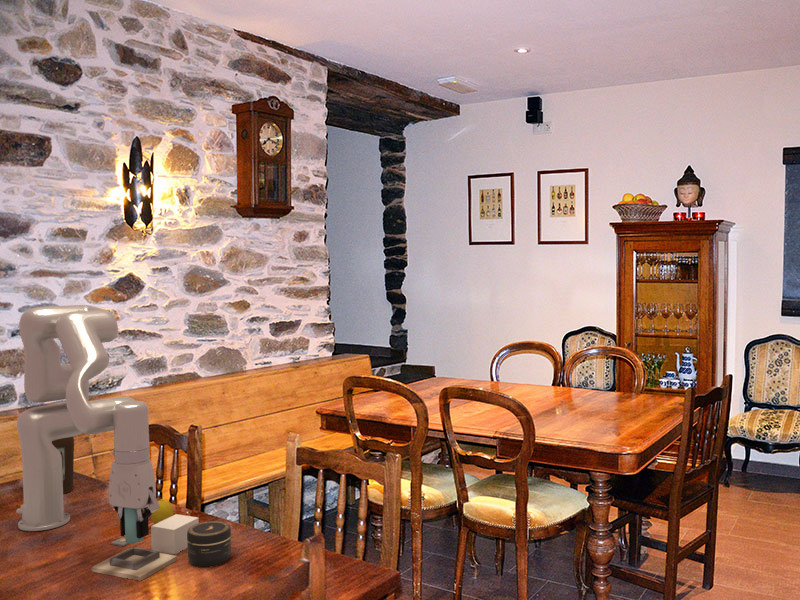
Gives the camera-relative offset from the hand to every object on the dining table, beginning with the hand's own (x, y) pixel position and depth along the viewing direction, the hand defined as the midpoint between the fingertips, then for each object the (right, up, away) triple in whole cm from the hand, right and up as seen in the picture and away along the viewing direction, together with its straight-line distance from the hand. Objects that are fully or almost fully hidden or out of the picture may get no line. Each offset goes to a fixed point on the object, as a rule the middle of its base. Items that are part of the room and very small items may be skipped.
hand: (134, 534), depth 164 cm
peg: (0, -1, 0) cm, 1 cm away
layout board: (0, -7, 0) cm, 7 cm away
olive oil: (-45, -5, +57) cm, 73 cm away
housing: (+6, -7, +12) cm, 15 cm away
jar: (+16, -7, +3) cm, 18 cm away
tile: (-8, -7, +15) cm, 18 cm away
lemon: (-1, -7, +24) cm, 25 cm away
